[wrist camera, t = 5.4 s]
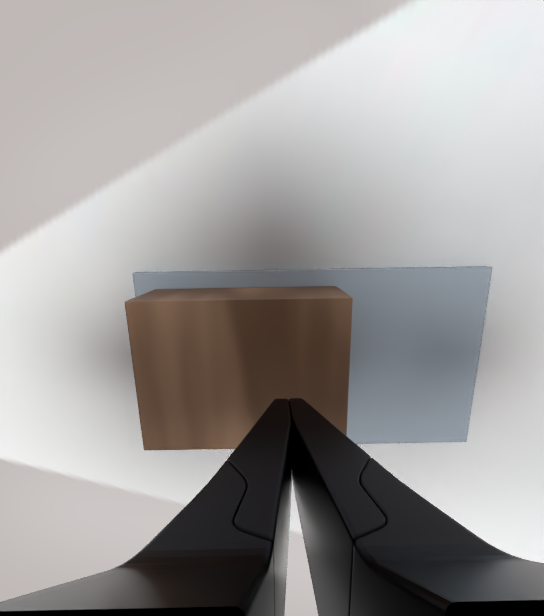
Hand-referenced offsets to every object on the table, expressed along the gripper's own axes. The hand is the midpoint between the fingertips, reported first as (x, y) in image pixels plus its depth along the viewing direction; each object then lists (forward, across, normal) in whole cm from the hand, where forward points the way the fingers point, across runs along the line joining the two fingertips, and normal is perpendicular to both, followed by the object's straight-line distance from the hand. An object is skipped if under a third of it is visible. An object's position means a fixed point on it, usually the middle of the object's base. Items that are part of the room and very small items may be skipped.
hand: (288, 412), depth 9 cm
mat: (+6, -1, +1) cm, 6 cm away
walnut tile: (+4, -2, 0) cm, 4 cm away
